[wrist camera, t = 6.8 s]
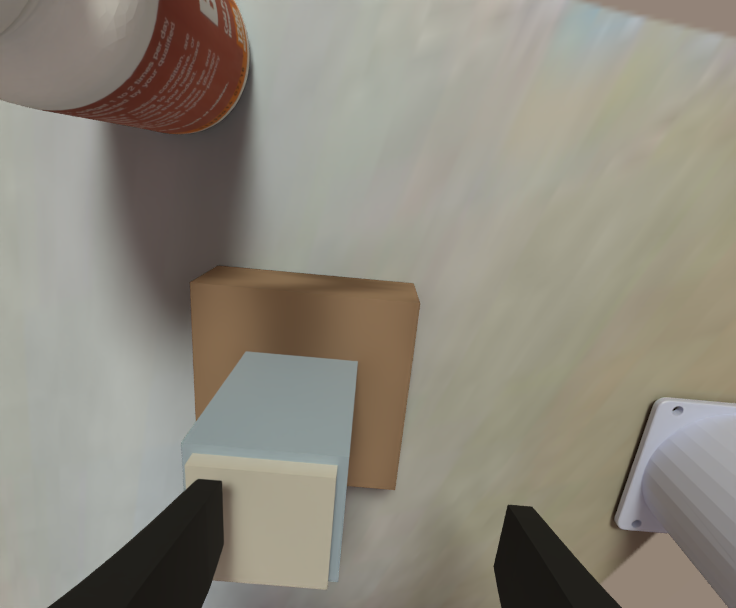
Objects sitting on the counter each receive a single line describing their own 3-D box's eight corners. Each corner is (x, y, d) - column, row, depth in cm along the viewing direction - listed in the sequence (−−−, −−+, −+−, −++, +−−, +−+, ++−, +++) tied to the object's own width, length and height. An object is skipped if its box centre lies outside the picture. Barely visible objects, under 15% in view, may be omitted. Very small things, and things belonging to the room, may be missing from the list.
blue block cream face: (357, 361, 17) (348, 469, 11) (349, 455, 19) (336, 597, 12) (246, 351, 17) (172, 455, 11) (245, 446, 18) (181, 585, 12)
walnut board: (413, 283, 19) (420, 303, 16) (392, 448, 22) (394, 490, 19) (217, 265, 19) (189, 282, 16) (221, 433, 22) (198, 473, 19)
